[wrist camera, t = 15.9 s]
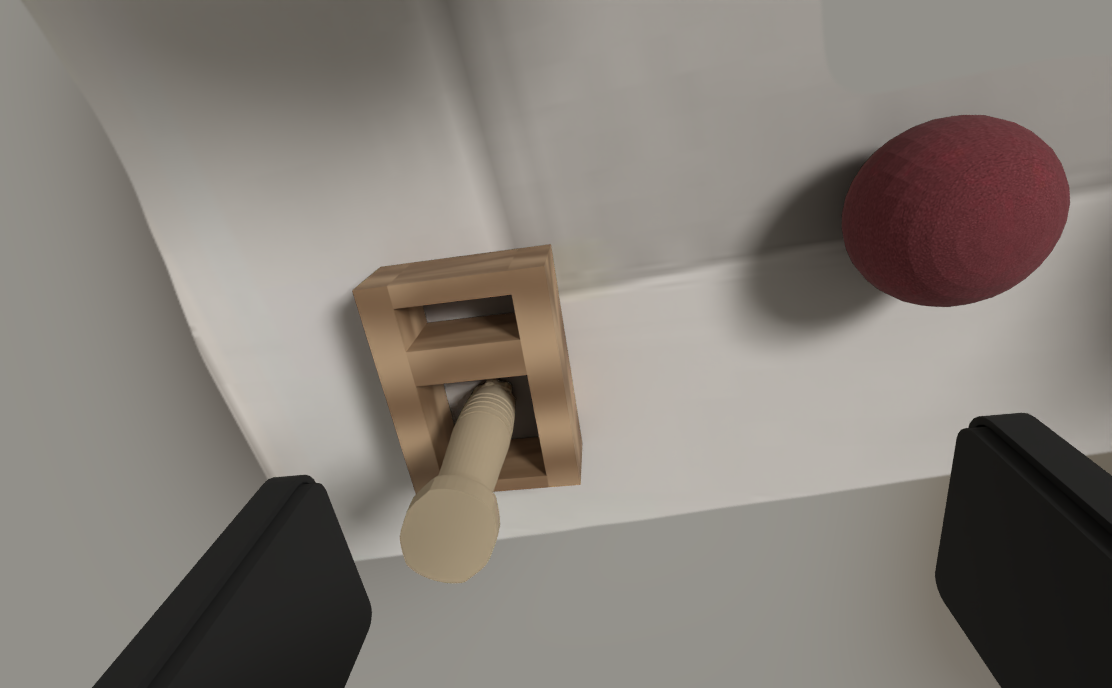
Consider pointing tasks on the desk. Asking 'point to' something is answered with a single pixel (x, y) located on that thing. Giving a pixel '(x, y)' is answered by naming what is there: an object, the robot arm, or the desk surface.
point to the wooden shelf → (474, 358)
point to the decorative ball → (955, 210)
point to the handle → (462, 492)
